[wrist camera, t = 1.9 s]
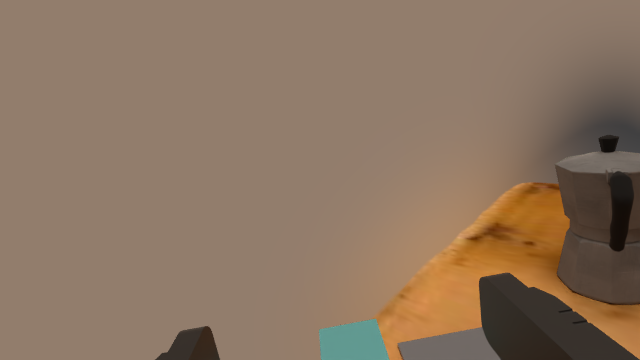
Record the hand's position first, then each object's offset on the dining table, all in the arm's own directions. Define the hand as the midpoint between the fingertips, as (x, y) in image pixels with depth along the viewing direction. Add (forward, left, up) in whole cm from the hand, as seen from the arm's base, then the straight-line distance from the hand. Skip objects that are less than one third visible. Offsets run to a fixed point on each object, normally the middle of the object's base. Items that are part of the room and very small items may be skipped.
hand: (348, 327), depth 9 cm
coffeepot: (-31, -24, -21) cm, 44 cm away
